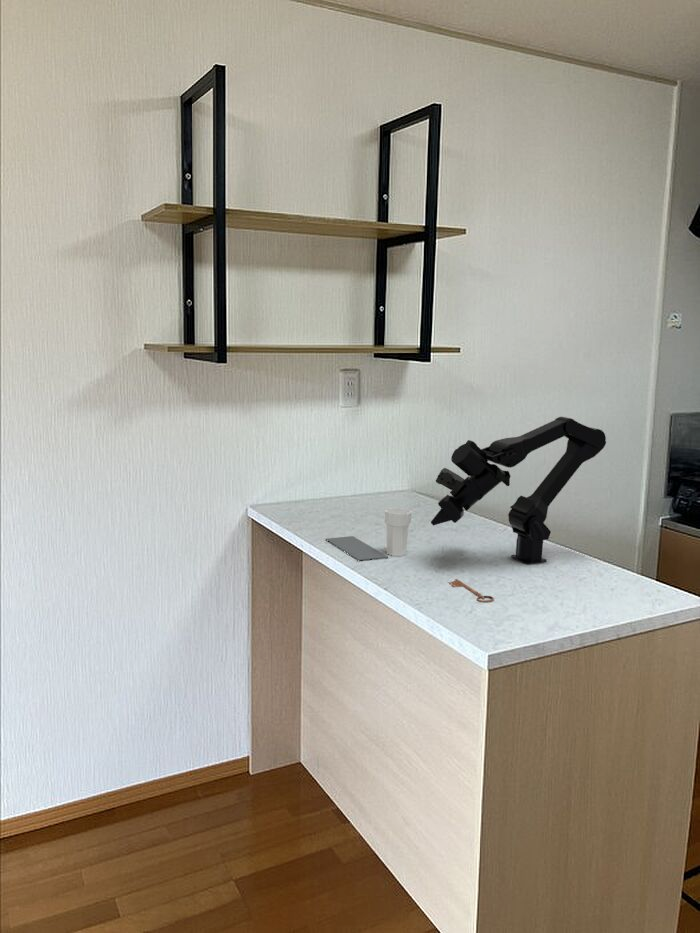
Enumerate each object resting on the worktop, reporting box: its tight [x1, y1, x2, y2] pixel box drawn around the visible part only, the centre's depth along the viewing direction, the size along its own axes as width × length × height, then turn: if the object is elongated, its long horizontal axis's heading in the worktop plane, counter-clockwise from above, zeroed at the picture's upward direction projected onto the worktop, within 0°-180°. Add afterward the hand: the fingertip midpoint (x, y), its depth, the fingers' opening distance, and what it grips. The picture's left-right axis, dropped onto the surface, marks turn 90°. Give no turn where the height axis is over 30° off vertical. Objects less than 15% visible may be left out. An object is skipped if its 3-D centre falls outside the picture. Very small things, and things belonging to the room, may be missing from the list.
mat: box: [325, 535, 389, 562], centre depth 212 cm, size 20×8×1 cm, turn 26°
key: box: [447, 578, 495, 604], centre depth 182 cm, size 6×1×15 cm
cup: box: [384, 507, 413, 557], centre depth 208 cm, size 7×7×11 cm
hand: (432, 523), depth 204 cm, fingers closed
